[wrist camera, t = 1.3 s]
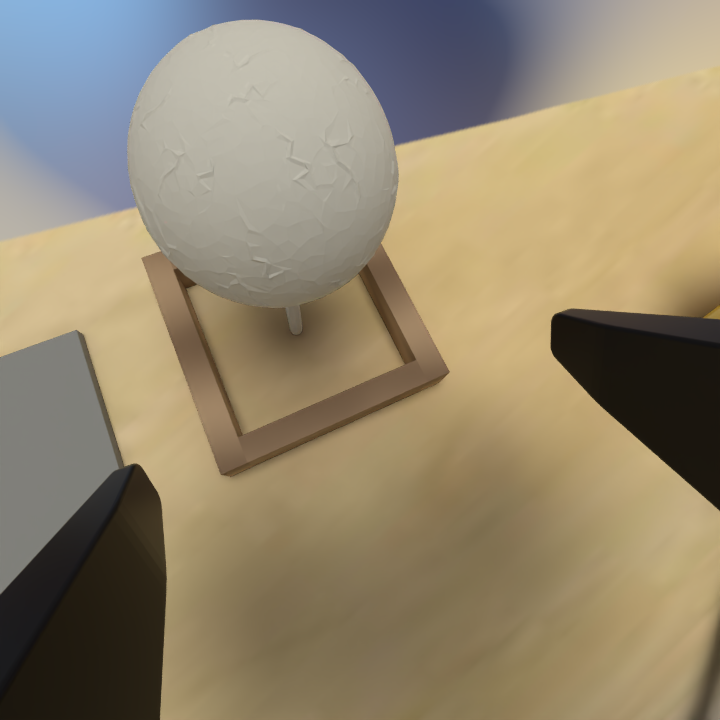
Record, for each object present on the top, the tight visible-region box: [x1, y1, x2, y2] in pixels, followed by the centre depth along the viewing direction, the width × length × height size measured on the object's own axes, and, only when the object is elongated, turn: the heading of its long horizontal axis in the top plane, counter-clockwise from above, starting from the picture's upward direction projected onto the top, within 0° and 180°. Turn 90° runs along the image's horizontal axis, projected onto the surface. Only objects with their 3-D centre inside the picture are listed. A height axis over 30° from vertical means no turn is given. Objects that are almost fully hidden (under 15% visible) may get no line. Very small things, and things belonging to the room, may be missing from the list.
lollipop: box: [127, 20, 398, 335], centre depth 16 cm, size 7×7×15 cm
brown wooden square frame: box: [142, 243, 449, 477], centre depth 22 cm, size 11×11×2 cm
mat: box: [0, 330, 124, 594], centre depth 19 cm, size 12×10×1 cm
